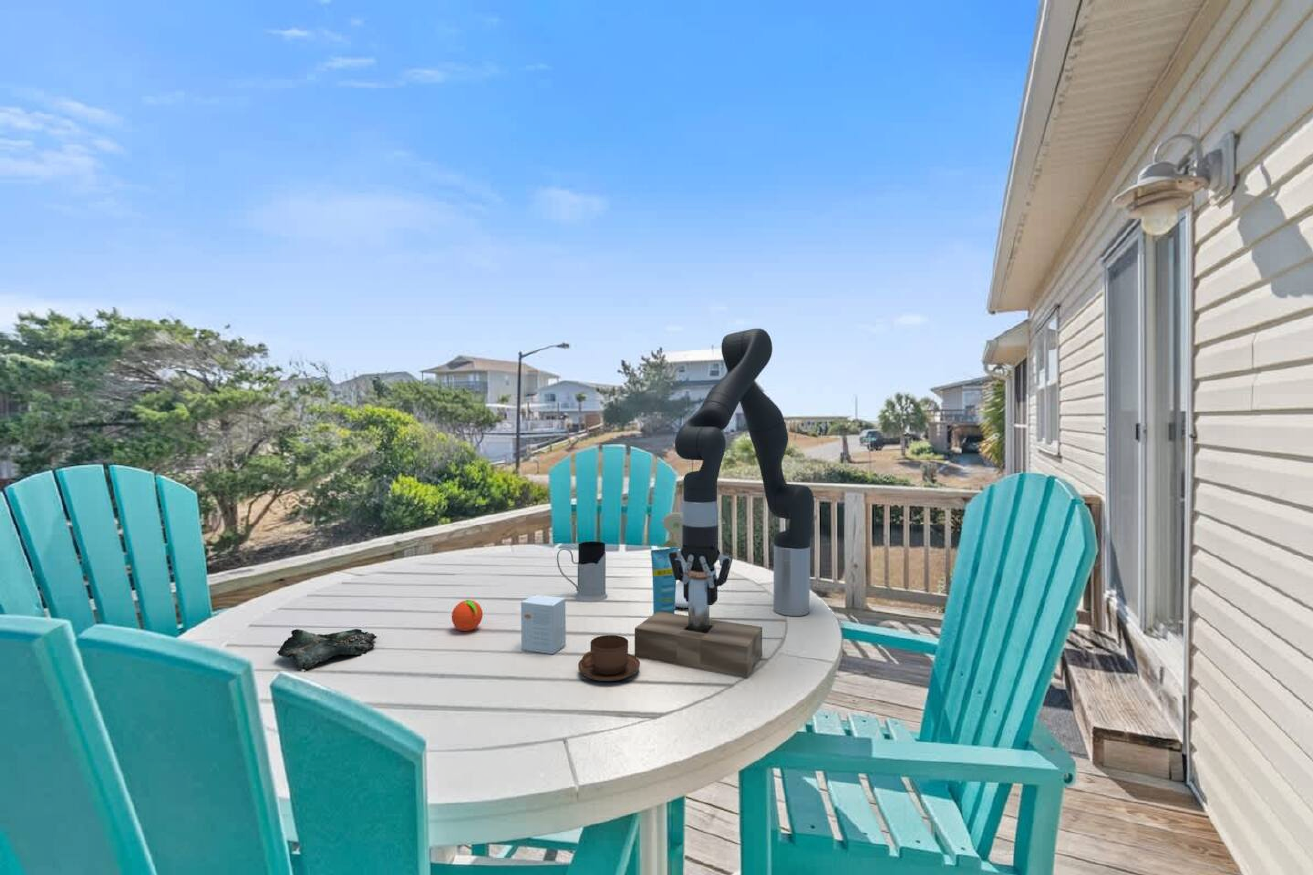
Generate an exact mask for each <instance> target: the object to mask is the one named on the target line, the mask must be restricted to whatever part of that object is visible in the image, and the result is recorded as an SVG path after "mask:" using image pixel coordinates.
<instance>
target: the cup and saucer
mask: <svg viewBox="0 0 1313 875" xmlns="http://www.w3.org/2000/svg"><path fill="white" fill-rule="evenodd" d="M577 666H578V670H579V672H580V673H581V674H582V675H583V676H585V678H588V679H591V680H593V681H600V682H614V681H615V682H617V681H621V680H625V679H628V678H630V677H631V676H633V675H634V674H636V673H637V672H638V671H639V669H640V666H641V662H640V659H639V657H635V655H634V654H630V653H629V640H628V639H627V638H626V637H624V636H621V635H615V634H605V635H600V636H595V637H593V639H591V641H590V651H587V652H586V653H584V654H583V656H582V658H581V659H580V660H579V662H578V664H577Z"/></svg>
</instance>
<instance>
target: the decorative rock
mask: <svg viewBox="0 0 1313 875" xmlns="http://www.w3.org/2000/svg"><path fill="white" fill-rule="evenodd" d="M290 632H291V633H290V634H291V636H290V637H288V638H287V639H286V640H284V642H283V644H282V645H281V647H279V650H278V651H277V652H276V653H277V654H278V656H279V657H282V658H290V657H291V658H292V659H291V660H293V661H294V662H295V664H296V665H297V668H298V670H299V671H300V672H302V671H304V672H309V671H310V670H312V669H313V668H314V666H315V665H316V664H317V663H319V662H321V663H324V662H326V661H328V659H330V658H332V657H333V656H335V657H336V656H339V655H344V656H346V655H354V656H357V655H358V656H359V657H361V656H363V655H366V653H367V651H368V650H370V649H371V648H374V647H376V646H375V644H374V642H373V641H374V640H375V639H377V638H378V636H376V635H375V633H372V632H371V633H369V632H368V631H362V629H359V628H354V629H350V630H344V631H340V632H339V631H338V632H333V633H327V634H320V633H318V634H316V633H314V632H309V631H306V630H303V629H298V628H296V629H292V630H291V631H290Z"/></svg>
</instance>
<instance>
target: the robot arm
mask: <svg viewBox="0 0 1313 875" xmlns="http://www.w3.org/2000/svg"><path fill="white" fill-rule="evenodd" d="M720 348H721V354H722V355H721V356H722V359H723V362H724V365H725V368H726V370H727V373H726V375H725V376H723V377H722V378H721V379H719V380H718V381H717V382H716V383H715V384H714V386H712V387H711V389H710V390H709V391H708V393H707V395H706V396H705V398H704V400H703V402H702V404H701V406H700V408H699V409H698V410H697V411H696V412H695V413H694V414H692V416H690V417H689V418H688V419H687V421H686V422H684V423H683V424H682V426H681V427H680V428H679V430H678V431H677V434H675V435H676V436H675V440H674V449H675V452H676V454H677V456H679V458H681V459H683V460H686V461H687V460H688V461H702V463H701V466H700V468H699V470H694V471H690V472H687V473H686V474H684V477H683V482H682V484H683V485H682V486H683V501H682V502H683V503H682V511H681V513H682V534H681V536H682V537H681V540H682V541H681V542H682V543H681V544H682V547H681V550H680V549H679V551H677V550H675V551H673V552H671V553H670V554H669V558H670V562H671V566H672V569H673V573H674V577H675V579H676V581H681V582H683V591H684V592H683V593H684V594H683V596H684V599H686V602H688V596H689V577H688V570H691V569H692V570H700V571H704V572H707V577H708V584H709V588H708V605H709V606H713V605H715V603H716V602H717V601H718V599H719V597H718V596H719V595H718V590H719V589H718V587H721V586H723V585H724V584H726V583H727V580H728V578H729V574H730V571H731V566H732V564H733V563H732V562H733V557H732V556H730V555H729V556H725V555H723V554H721V552H720V550H719V509H718V506H719V505H718V479H719V475H720V470H721V465H722V462H723V459H724V457H725V456H724V455H725V451H726V446H727V445H726V444H727V443H726V442H727V441H726V438H725V435H724V433H723V432H722V431H723V430H725V429H726V428H727V427H728V425H729V423H730V421H731V419H732V417H733V415H734V414H735V411H736V410H737V407H738V405H739V403H740V407H741V409H742V413H743V416H744V420H745V423H746V426H747V431H748V434H749V437H750V440H751V443H752V445H753V448H754V451H755V455H756V460H757V463H758V465H759V470H760V474H761V478H762V483H763V488H764V495H765V499H766V500H765V501H766V503H767V506H768V509H769V511H770V513H771V514H772V515H773V516H774V517H776V518H780V519H785V520H789V523H788V524H789V525H788V528H787V529H785V530H782V531H779V532H776V533H775V534H774V536H773V594H772V595H773V597H772V598H773V599H772V601H773V602H772V603H773V604H772V605H773V606H772V608H773V611H774V612H775V613H777V614H780V615H783V616H790V617H801V616H802V617H803V616H806V615H808V614H810V595H811V594H810V593H811V592H810V590H811V588H810V586H811V585H810V584H811V581H810V580H811V578H810V577H811V569H810V568H811V540H812V536H813V531H814V530H813V529H814V514H815V498H814V494H813V491H812V489H811V488H810V487H809V486H807V485H804V484H803V485H802V484H793V483H787V482H786V479H785V477H784V472H783V468H782V467H783V465H782V464H783V459H784V455H785V453H786V451H787V448H788V444H789V432H788V429H787V425H786V423H785V422H786V421H785V419H784V415H783V413H782V411H781V409H780V408H779V406H778V405H777V404H775V402H774V401H773V400H772V399H771V398H770V397H769V396H767V394H765V392H763V391H762V389H761V388H760V387H759V386H758V385H757V383H756V380H757V378H758V376H760V374H761V373H762V372H763V370H764V369H765V368H766V367H767V365H768V364H769V362H770V361H771V360H770V359H771V358H772V354H773V342H772V339H771V337H770V335H769V333H768V332H767V331H766V330H765V329H763V328H750V329H745V330H742V331H737V332H732V333H729V334H726V335H724V337H723V339H722V341H721V346H720ZM682 557H683V558H684V560H685V562H686V563H687V564H686V568H685V571H684V572H683V568H682V564H681V559H682ZM718 561H719V566H720V571H719V574H718V577H717V569H716V565H715V564H716V563H717V562H718ZM710 570H711V571H710Z"/></svg>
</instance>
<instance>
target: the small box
mask: <svg viewBox="0 0 1313 875" xmlns="http://www.w3.org/2000/svg"><path fill="white" fill-rule="evenodd" d="M520 613H521V615H520V616H521V617H520V619H521V620H520V623H521V624H520V626H521V628H520V631H521V634H520V635H521V650H522V651H528V652H536V653H542V654H547V655H548V654H549V655H554V654H556V653H557V652H558V651H560V650H561V649H562V648H564V647H565V646H566V645H567V639H566V638H567V637H566V636H567V635H566V633H567V629H566V628H567V627H566V622H567V621H566V620H567V619H566V597H556V596H548V595H546V596H545V595H539V594H538V595H537V594H535V595H532V596H530V597H528V598H526V599H524V600H523V601H521V602H520Z"/></svg>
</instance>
